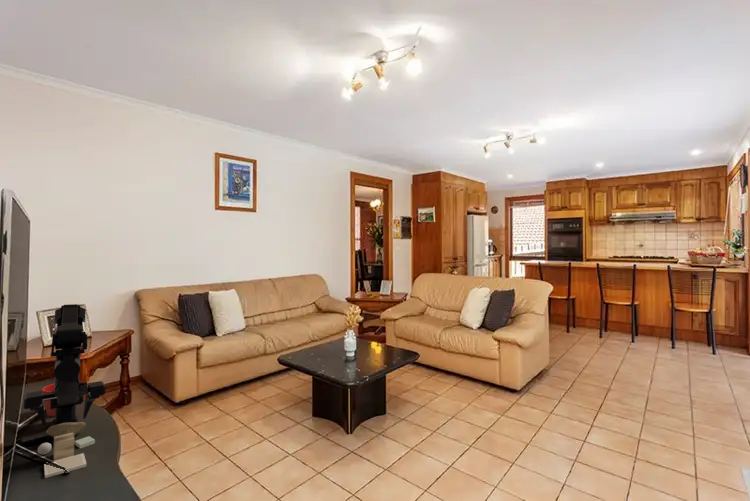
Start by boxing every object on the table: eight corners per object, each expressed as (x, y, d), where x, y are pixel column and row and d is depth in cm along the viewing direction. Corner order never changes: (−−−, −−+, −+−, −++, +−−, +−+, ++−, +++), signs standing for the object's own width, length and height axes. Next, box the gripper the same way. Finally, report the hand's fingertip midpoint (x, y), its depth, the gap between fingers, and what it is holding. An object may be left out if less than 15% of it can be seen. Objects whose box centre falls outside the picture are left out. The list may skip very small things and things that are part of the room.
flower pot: (39, 410, 141) (40, 384, 141) (76, 403, 149) (77, 378, 149) (42, 421, 134) (43, 393, 134) (81, 412, 141) (82, 386, 141)
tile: (74, 445, 120) (74, 441, 120) (89, 440, 123) (89, 436, 123) (80, 449, 118) (80, 445, 118) (94, 444, 121) (95, 439, 121)
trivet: (43, 466, 108) (44, 463, 108) (83, 455, 114) (83, 452, 114) (44, 478, 103) (45, 474, 103) (86, 466, 109) (86, 463, 109)
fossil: (90, 419, 125) (52, 422, 118) (89, 432, 123) (50, 436, 115) (79, 430, 129) (41, 434, 121) (78, 444, 126) (40, 448, 119)
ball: (37, 453, 114) (37, 442, 114) (51, 449, 116) (51, 439, 116) (37, 457, 112) (37, 447, 112) (51, 454, 114) (52, 443, 114)
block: (53, 455, 114) (54, 436, 114) (72, 450, 117) (73, 432, 117) (54, 461, 110) (54, 443, 110) (73, 456, 113) (74, 438, 113)
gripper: (24, 385, 101) (22, 443, 101) (109, 372, 114) (107, 424, 114) (25, 373, 109) (22, 427, 110) (103, 362, 122) (101, 410, 122)
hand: (65, 422), depth 114 cm, fingers open, 9 cm apart
